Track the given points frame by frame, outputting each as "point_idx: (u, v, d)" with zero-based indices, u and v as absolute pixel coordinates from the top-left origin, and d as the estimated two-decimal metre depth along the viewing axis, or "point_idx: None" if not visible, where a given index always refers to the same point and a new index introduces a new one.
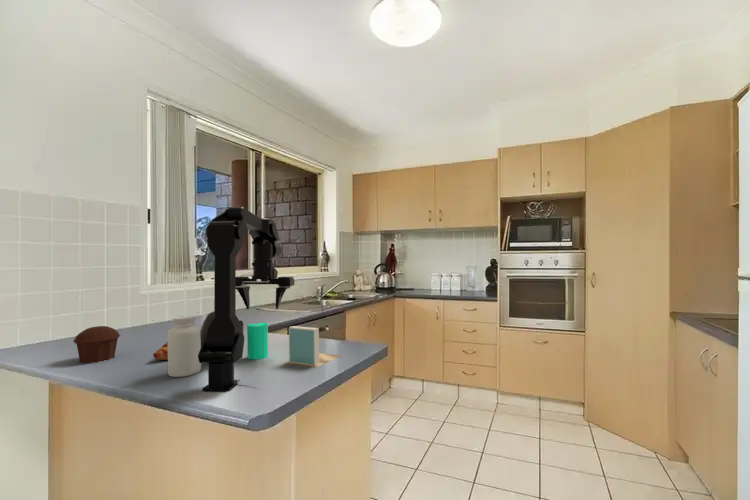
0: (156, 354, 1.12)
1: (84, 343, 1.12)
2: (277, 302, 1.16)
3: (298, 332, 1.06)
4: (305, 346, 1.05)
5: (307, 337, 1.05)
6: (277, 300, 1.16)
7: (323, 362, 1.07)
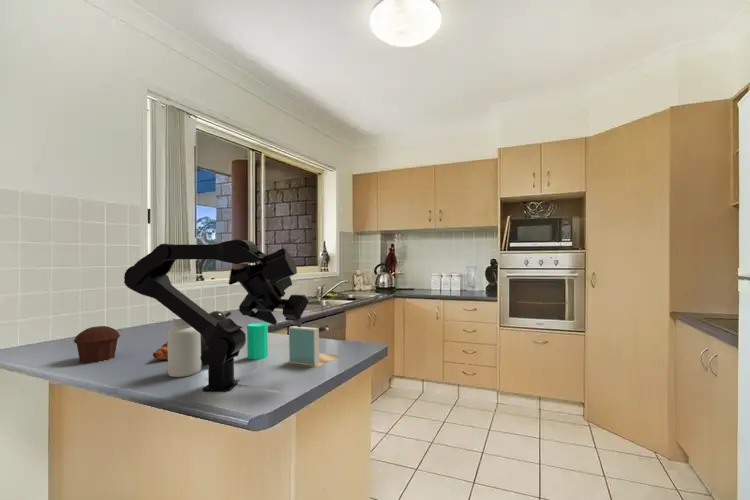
0: (155, 354, 1.12)
1: (84, 343, 1.12)
2: (296, 325, 0.97)
3: (298, 332, 1.06)
4: (305, 346, 1.05)
5: (307, 337, 1.05)
6: (294, 324, 0.96)
7: (323, 362, 1.07)
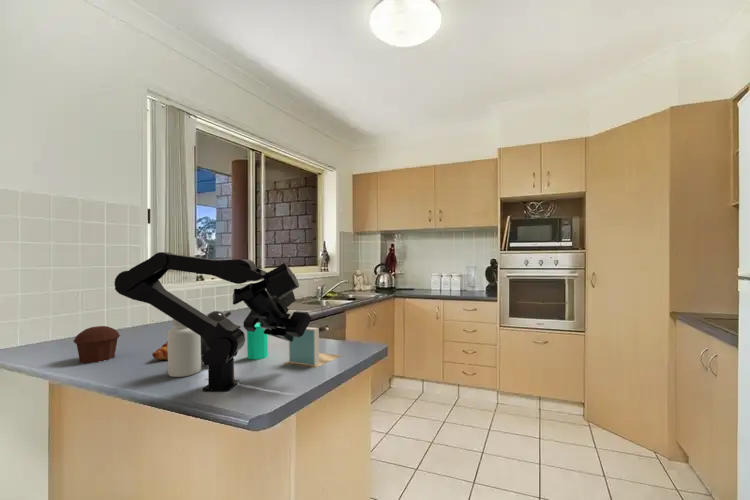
0: (155, 354, 1.12)
1: (84, 343, 1.12)
2: (287, 339, 0.99)
3: None
4: (305, 346, 1.05)
5: (307, 337, 1.05)
6: (286, 339, 0.99)
7: (323, 362, 1.07)
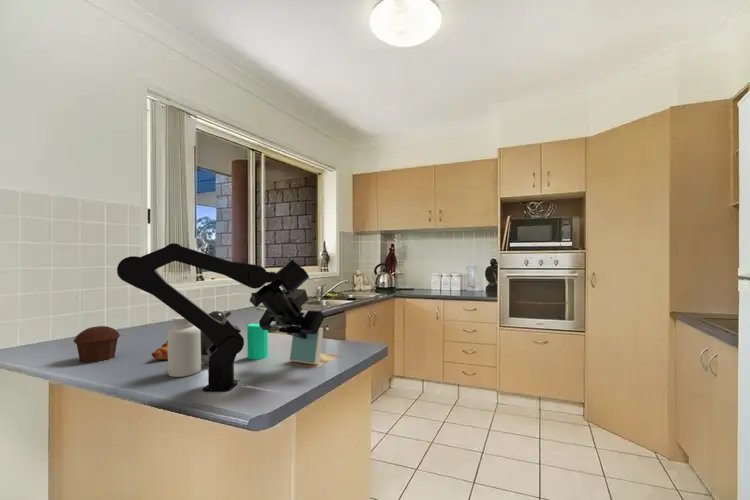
0: (154, 354, 1.12)
1: (84, 343, 1.12)
2: (301, 337, 1.04)
3: None
4: (308, 344, 1.06)
5: (311, 335, 1.06)
6: (300, 336, 1.04)
7: (323, 362, 1.07)
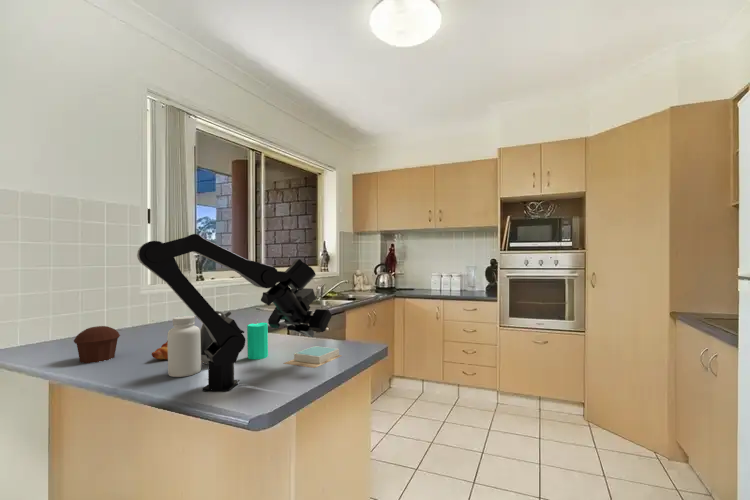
0: (154, 354, 1.12)
1: (84, 343, 1.12)
2: (308, 335, 1.08)
3: (321, 347, 1.16)
4: (320, 351, 1.12)
5: (327, 349, 1.13)
6: (307, 334, 1.07)
7: (323, 362, 1.07)
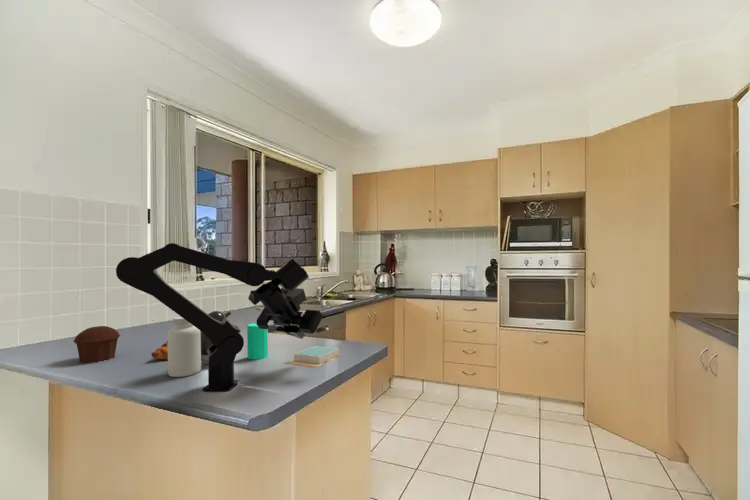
0: (154, 354, 1.13)
1: (84, 343, 1.12)
2: (298, 336, 1.04)
3: (321, 347, 1.16)
4: (320, 351, 1.12)
5: (327, 349, 1.13)
6: (297, 336, 1.04)
7: (323, 362, 1.07)
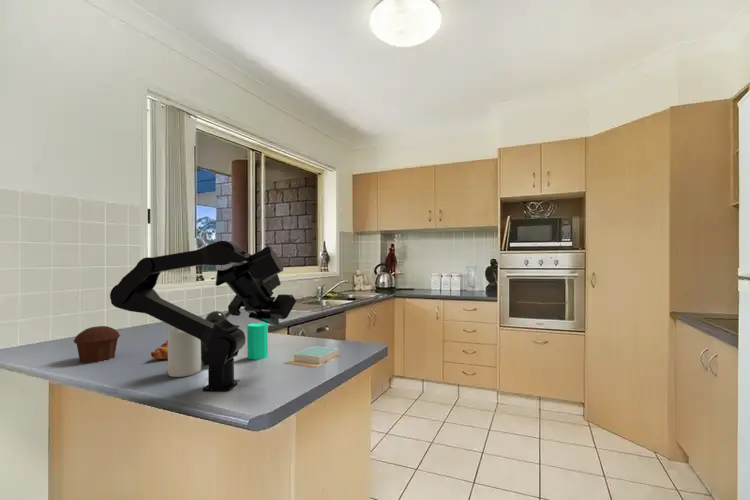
0: (153, 353, 1.13)
1: (84, 343, 1.12)
2: (272, 323, 0.99)
3: (321, 347, 1.16)
4: (320, 351, 1.12)
5: (327, 349, 1.13)
6: (271, 323, 0.98)
7: (323, 362, 1.07)
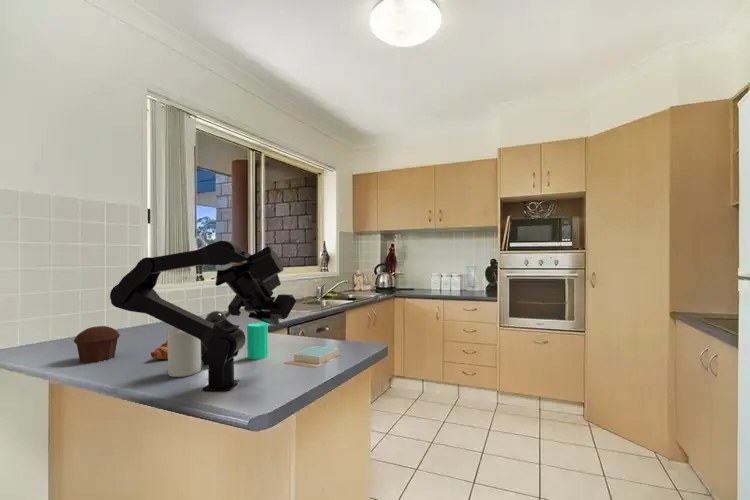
0: (153, 353, 1.13)
1: (84, 343, 1.12)
2: (272, 323, 0.99)
3: (321, 347, 1.16)
4: (320, 351, 1.12)
5: (327, 349, 1.13)
6: (271, 323, 0.98)
7: (323, 362, 1.07)
